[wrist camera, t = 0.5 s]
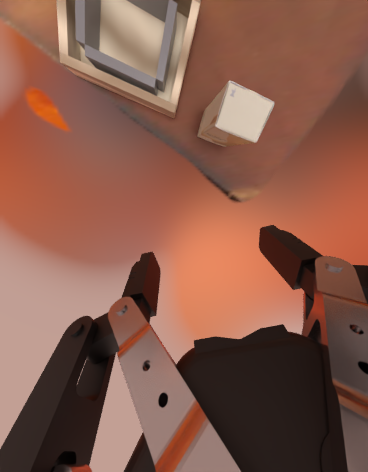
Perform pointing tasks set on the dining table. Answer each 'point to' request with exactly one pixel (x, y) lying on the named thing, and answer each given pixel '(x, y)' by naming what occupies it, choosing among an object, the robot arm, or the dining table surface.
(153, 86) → the inlet collar
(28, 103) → the dining table surface
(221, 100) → the skincare box
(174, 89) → the walled box
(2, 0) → the dining table surface
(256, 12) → the dining table surface
